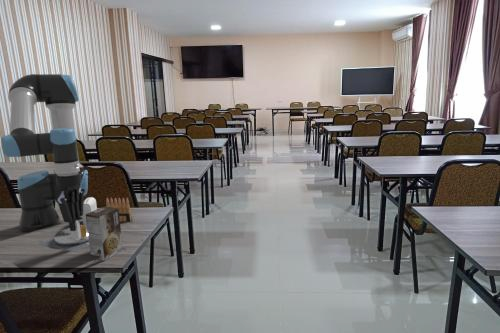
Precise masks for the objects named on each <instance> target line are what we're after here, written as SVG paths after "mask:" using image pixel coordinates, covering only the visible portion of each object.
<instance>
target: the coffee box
mask: <svg viewBox="0 0 500 333" xmlns="http://www.w3.org/2000/svg"><path fill="white" fill-rule="evenodd" d="M86 221H87V229H88V237H89V245H88V246H89V250H90V252H89V253H90V255H92V256H97V257H96V258H95V260H97V261H98V260H99V261H102V262H106V261H107V260H109V259H110V258H112V257H114V256H116V255H117V254H119V253H121V252H122V251H123V250H124V248H123V237H122V228H121V221H120V219H119V210H118V208H113V207H107V205H106V206H103V207H100V208H97V210H95V211H92V212H90V213H88V214H86Z"/></svg>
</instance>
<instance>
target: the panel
mask: <svg viewBox="0 0 500 333" xmlns="http://www.w3.org/2000/svg"><path fill="white" fill-rule="evenodd" d="M38 245H39V246H46V247H50V248H55V249H60V250H66V251H71V252H77V251H79V250H81V249H83V248H85V247H87V246H90V245H89V241H87V242H85V243H81V244H77V245H71V246H61V245H57V244H56V243H55V238H54V237H53V238H50V239H48V240H46V241H43V242H41V243H39V244H38Z"/></svg>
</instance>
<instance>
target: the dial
mask: <svg viewBox="0 0 500 333" xmlns="http://www.w3.org/2000/svg"><path fill="white" fill-rule="evenodd" d="M80 231H81V238H80V239H72V237H71V231H70V227H69V228H66V229H62V230H60V231H58V232H56V233H55V235H54V236H53V238H55V243H56V244H57V245H61V246H71V245H77V244H81V243H85V242H87V241H89V237H88V229H87V226H84V225H83V224H81V223H80Z"/></svg>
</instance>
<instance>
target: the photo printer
mask: <svg viewBox="0 0 500 333" xmlns="http://www.w3.org/2000/svg"><path fill="white" fill-rule="evenodd" d="M97 209H98V207H97V200H96V198H94V197H93V196H91V197H87V198H85V199H83V216H81V217H82V223H83V224H82V225H83V226H87V221H86V214H88V213H90V212H92V211H95V210H97Z"/></svg>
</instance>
